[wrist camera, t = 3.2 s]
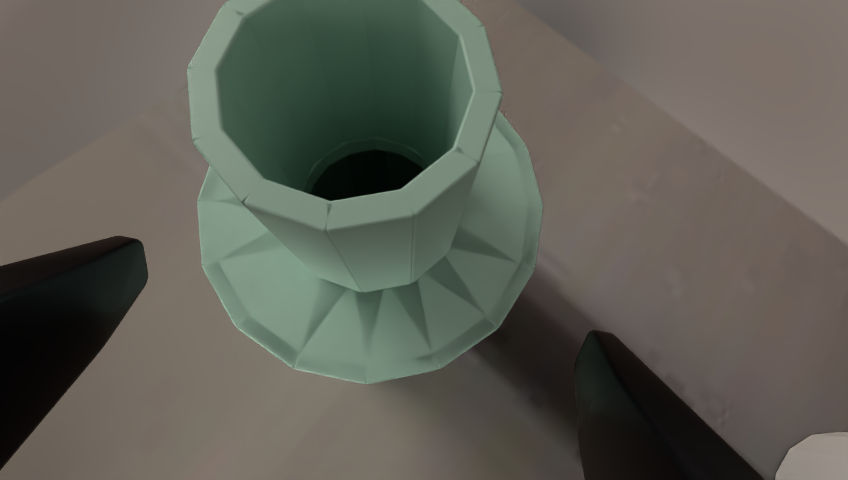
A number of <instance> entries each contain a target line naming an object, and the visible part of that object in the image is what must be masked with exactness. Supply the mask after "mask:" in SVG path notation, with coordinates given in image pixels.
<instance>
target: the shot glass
mask: <svg viewBox="0 0 848 480" xmlns="http://www.w3.org/2000/svg"><path fill="white" fill-rule="evenodd" d="M775 480H848V432H834V433H824V434H814V435H810V436H809V437H807V438H806V439H804V440H803V441H801V442H800V443H798V444H797V445H795V446H794V447H792V448H791V449H789V451H788V453H787V455H786V456H785V458H784V460H783V462H782V463H781V465H780V467H779V469H778V471H777V472H776V476H775Z"/></svg>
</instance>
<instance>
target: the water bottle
mask: <svg viewBox="0 0 848 480" xmlns="http://www.w3.org/2000/svg"><path fill="white" fill-rule="evenodd" d="M187 77H188V91H189V105H190V119H191V132H192V140H193V142H194V146H195V147H196V148H197V150H198V151H199V152H200V153H201V154H202V156H203V157H204V158H205V159H206V161H207V162H208V163H209V164H210V166H209V169H208V171H207V174H206V177H205V180H204V183H203V185H202V188H201V191H200V194H199V197H198V202H197V207H198V220H199V234H200V248H201V261H202V266H203V270H204V272H205V273H206V275H207V277H208V279H209V281H210V282H211V284H212V286H213V288H214V290H215V291H216V293H217V295H218V297H219V299H220V300H221V302H222V304H223V306H224V308H225V309H226V311H227V313H228V315H229V317H230V318H231V320H232V322H233V324H234V325H235V326H236V327H237V329H239V330H240V331H241V332H243V333H244V334H246V335H247V336H248V337H250V338H251V339H252V340H254V341H255V342H257V343H258V344H259V345H261V346H262V347H263V348H265V349H266V350H268V351H269V352H270V353H272V354H273V355H274V356H276V357H277V358H279V359H280V360H281V361H283V362H284V363H285V364H287V365H288V366H290V367H291V368H294V369H295V370H299V371H304V372H309V373H313V374H318V375H323V376H328V377H332V378H337V379H342V380H347V381H351V382H356V383H361V384H366V383H367V384H372V383H377V382H382V381H386V380H391V379H396V378H401V377H406V376H411V375H416V374H421V373H426V372H430V371H435V370H438V369H440V368H443V367H444V366H445V365H447V364H448V363H450V362H451V361H453V360H454V359H456V358H457V357H458V356H460V355H461V354H463V353H464V352H466V351H467V350H468V349H470V348H471V347H473V346H474V345H476V344H477V343H479V342H480V341H481V340H483V339H484V338H486V337H487V336H489V335H490V334H491V333H493V332H494V331H496V330H497V329H498V327H500V326H501V324H502V323H503V321H504V319H505V318H506V316H507V314H508V313H509V311H510V310H511V308H512V306H513V305H514V303H515V301H516V300H517V298H518V297H519V295H520V293H521V292H522V290H523V288H524V287H525V285H526V284H527V282H528V280H529V279H530V277H531V276H532V274H533V272H534V269H535V265H536V258H537V251H538V244H539V236H540V229H541V222H542V215H543V202H542V198H541V195H540V191H539V187H538V184H537V180H536V177H535V173H534V169H533V166H532V162H531V159H530V155H529V151H528V148H527V147H526V144H525V143H524V141H523V140H522V139H521V138H520V136H519V135H518V134H517V133H516V131H515V130H514V129H513V127H512V126H511V125H510V124H509V122H508V121H507V120H506V118H505V117H504V116H503V115H502V113H501V112H500V111H499V107H500V104H501V101H502V98H503V96H502V94H503V90H502V86H501V83H500V79H499V75H498V72H497V68H496V64H495V61H494V57H493V53H492V50H491V46H490V42H489V39H488V35H487V31H486V28H485V27H484V25H483V23H482V22H481V21H480V20H479V19H478V18H476V17H475V16H474V15H473V14H472V13H471V12H470V11H469V10H468V9H467V8H466V7H465V6H464V5H463V4H462V3H461V2H460V1H459V0H228V1H227V2H226V3H225V4H224V5H223V6H222V7H221V8H220V10H219V12H218V14H217V15H216V17H215V19H214V21H213V22H212V24H211V26H210V28H209V30H208V31H207V33H206V35H205V37H204V38H203V40H202V42H201V44H200V45H199V48H198V49H197V51H196V53H195V55H194V56H193V58H192V60H191V61H190V63H189V65H188V70H187Z"/></svg>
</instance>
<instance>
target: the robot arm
mask: <svg viewBox="0 0 848 480" xmlns="http://www.w3.org/2000/svg"><path fill="white" fill-rule="evenodd" d="M147 279H148V270H147V264H146V258H145V252H144V247H143V244H142V243H141V241H139V240H138V239H134V238H129V237H124V236H114V237H110V238H107V239H103V240H99V241H95V242H91V243H87V244H84V245H80V246H76V247H72V248H68V249H64V250H60V251H57V252H53V253H49V254H45V255H41V256H37V257H34V258H30V259H26V260H22V261H18V262H14V263H11V264H7V265H3V266H0V470H1V469H2V468H3V467H4V465H5V464H6V463H7V462H8V461H9V459H10V458H11V457H12V456H13V455H14V453H15V452H16V451H17V450H18V449H19V447H20V446H21V445H22V444H23V443H24V441H25V440H26V439H27V438H28V437H29V436H30V434H31V433H32V432H33V431H34V430H35V428H36V427H37V426H38V425H39V424H40V422H41V421H42V420H43V419H44V418H45V416H46V415H47V414H48V413H49V412H50V410H51V409H52V408H53V407H54V406H55V404H56V403H57V402H58V401H59V400H60V399H61V397H62V396H63V395H64V394H65V393H66V391H67V390H68V389H69V388H70V387H71V385H72V384H73V383H74V382H75V381H76V379H77V378H78V377H79V376H80V375H81V373H82V372H83V371H84V370H85V369H86V367H87V366H88V365H89V364H90V363H91V362H92V360H93V359H94V358H95V357H96V355H97V354H98V353H99V352H100V350H101V349H102V348H103V347H104V345H105V344H106V342H107V341H108V340H109V338H110V337H111V335H112V334H113V332H114V331H115V330H116V328H117V327H118V325H119V324H120V322H121V321H122V319H123V318H124V316H125V315H126V313H127V312H128V310H129V309H130V307H131V306H132V304H133V303H134V301H135V300H136V298H137V297H138V295H139V294H140V293H141V291H142V290H143V288H144V286H145V285H146V282H147ZM574 373H575V391H576V408H577V426H578V440H579V448H580V455H581V461H582V467H583V472H584V478H585V480H764V479H763V477H762V476H761V475H760V474H758V473H757V472H756V471H755V470H754V469H753V468H752V467H751V466H750V465H749V464H748V463H747V462H746V461H745V460H744V459H743V458H742V457H741V456H740V455H739V454H738V453H737V452H736V451H735V450H734V449H732V448H731V447H730V446H729V445H728V444H727V443H726V442H725V441H724V440H723V439H722V438H721V437H720V436H719V435H718V434H717V433H716V432H715V431H714V430H713V429H712V428H711V427H710V426H709V425H708V424H706V423H705V422H704V421H703V420H702V419H701V418H700V417H699V416H698V415H697V414H696V413H695V412H694V411H693V410H692V409H691V408H690V407H689V406H688V405H687V404H686V403H685V402H684V401H683V400H682V399H680V398H679V397H678V396H677V395H676V394H675V393H674V392H673V391H672V390H671V389H670V388H669V387H668V386H667V385H666V384H665V383H664V382H663V381H662V380H661V379H660V378H659V377H658V376H657V375H656V374H654V373H653V372H652V371H651V370H650V369H649V368H648V367H647V366H646V365H645V364H644V363H643V362H642V361H641V360H640V359H639V358H638V357H637V356H636V355H635V354H634V353H633V352H632V351H631V350H630V349H628V348H627V347H626V346H625V345H624V344H623V343H622V342H621V341H620V340H619V339H618V338H617V337H616V336H615V335H614V334H612V333H609V332H604V331H599V330H592V331H590V332H589V333H588V335H587V337H586V339H585V341H584V343H583V346H582V348H581V350H580V352H579V355H578V357H577V359H576V362H575V369H574Z"/></svg>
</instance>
